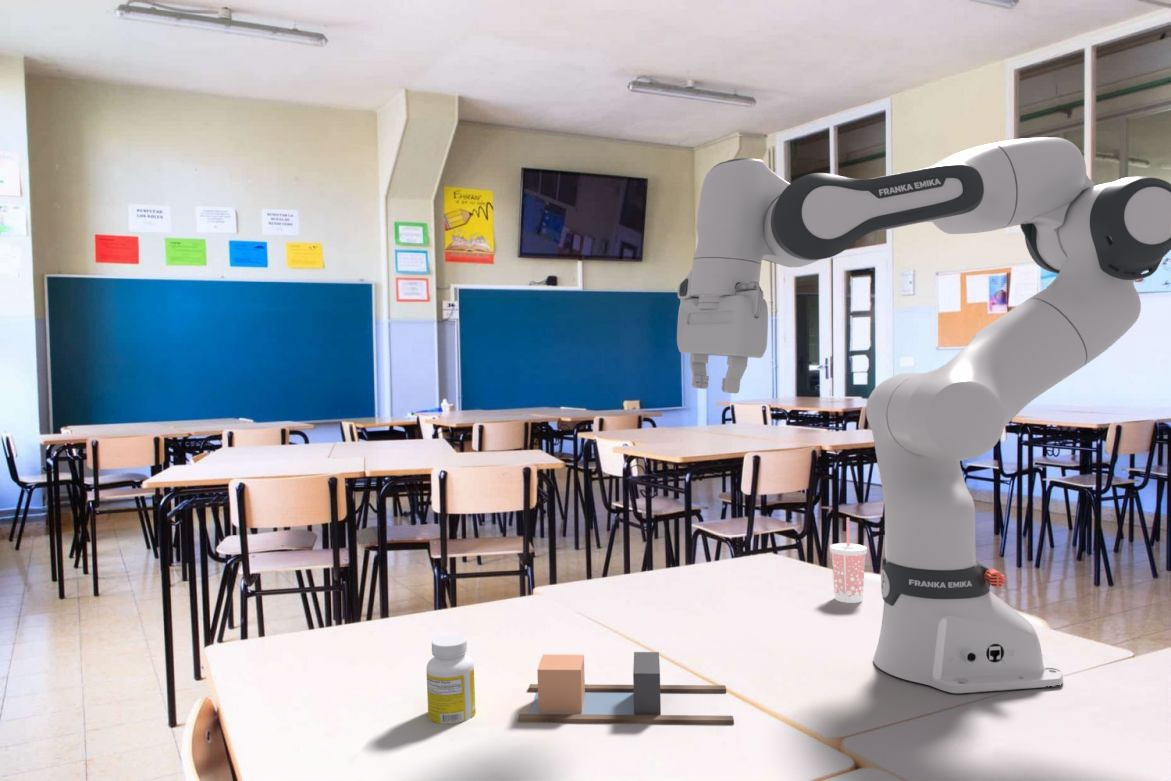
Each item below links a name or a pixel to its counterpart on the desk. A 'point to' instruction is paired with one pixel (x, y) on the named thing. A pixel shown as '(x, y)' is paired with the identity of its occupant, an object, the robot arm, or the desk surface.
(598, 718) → the guide rails
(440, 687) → the supplement bottle
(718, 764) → the desk surface
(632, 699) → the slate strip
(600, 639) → the desk surface
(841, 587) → the beverage cup
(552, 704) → the terracotta cube
